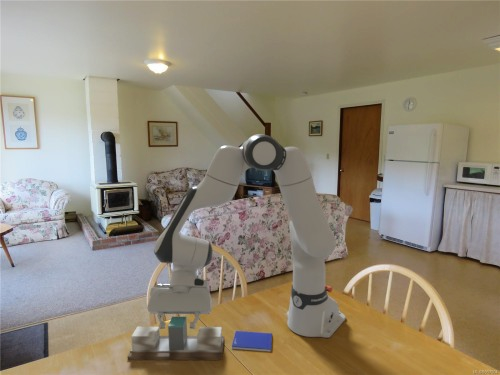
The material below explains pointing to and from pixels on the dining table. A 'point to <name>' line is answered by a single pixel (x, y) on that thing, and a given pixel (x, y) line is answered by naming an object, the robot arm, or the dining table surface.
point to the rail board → (157, 348)
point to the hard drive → (252, 341)
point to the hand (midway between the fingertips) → (177, 328)
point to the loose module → (177, 333)
